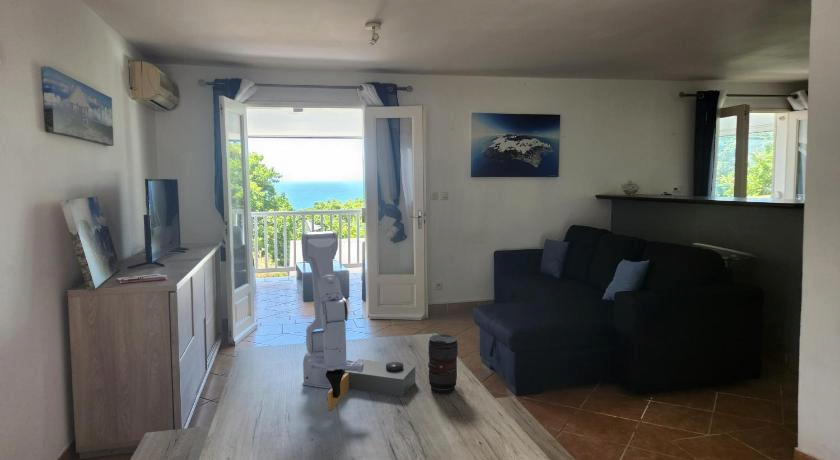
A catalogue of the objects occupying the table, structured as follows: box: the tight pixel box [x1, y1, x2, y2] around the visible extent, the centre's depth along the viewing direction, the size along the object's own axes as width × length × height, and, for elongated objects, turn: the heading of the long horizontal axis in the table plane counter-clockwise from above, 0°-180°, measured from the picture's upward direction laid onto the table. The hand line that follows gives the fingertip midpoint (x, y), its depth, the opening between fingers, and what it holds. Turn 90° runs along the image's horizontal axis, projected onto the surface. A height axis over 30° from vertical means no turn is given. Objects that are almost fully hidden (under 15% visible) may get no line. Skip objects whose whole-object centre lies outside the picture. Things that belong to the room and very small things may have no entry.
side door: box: [326, 373, 350, 412], centre depth 140 cm, size 13×1×5 cm, turn 167°
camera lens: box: [427, 333, 459, 395], centre depth 146 cm, size 8×8×15 cm
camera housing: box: [343, 358, 416, 398], centre depth 149 cm, size 18×10×6 cm, turn 71°
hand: (336, 396), depth 136 cm, fingers closed, pressing on side door
